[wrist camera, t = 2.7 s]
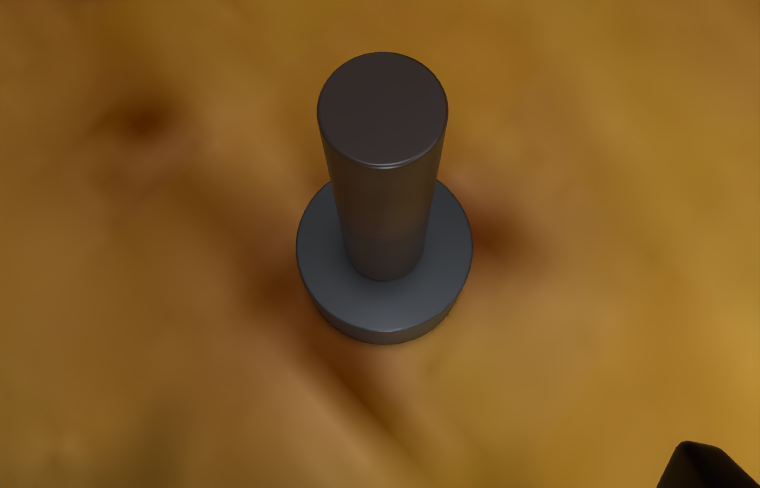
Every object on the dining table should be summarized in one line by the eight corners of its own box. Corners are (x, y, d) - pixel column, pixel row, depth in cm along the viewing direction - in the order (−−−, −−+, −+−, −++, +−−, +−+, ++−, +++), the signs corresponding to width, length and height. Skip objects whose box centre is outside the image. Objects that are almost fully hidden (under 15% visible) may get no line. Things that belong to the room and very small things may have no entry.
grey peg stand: (489, 310, 20) (586, 186, 10) (338, 369, 19) (288, 298, 10) (426, 172, 21) (460, -53, 11) (284, 224, 20) (195, 35, 11)
